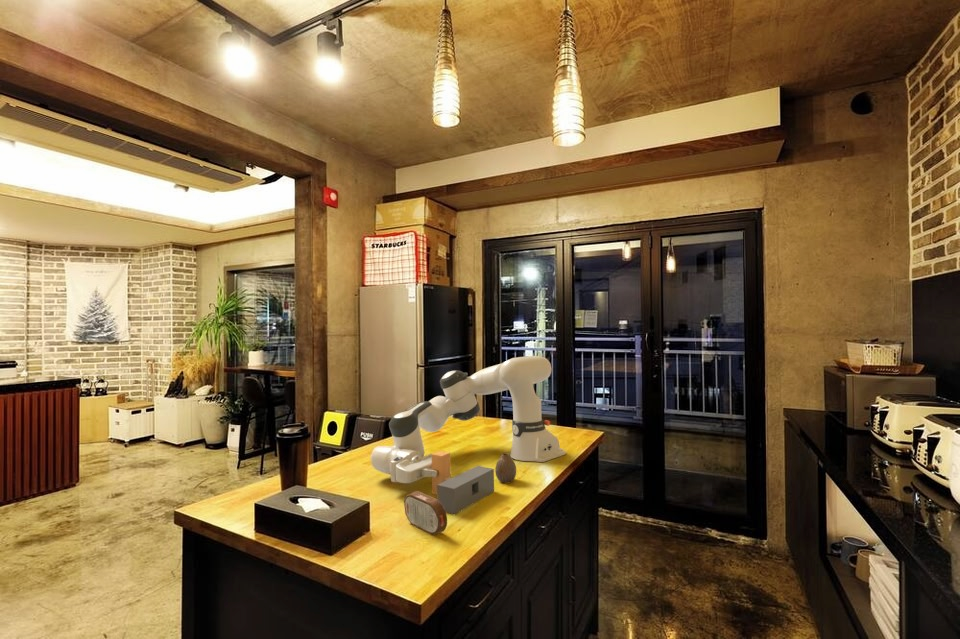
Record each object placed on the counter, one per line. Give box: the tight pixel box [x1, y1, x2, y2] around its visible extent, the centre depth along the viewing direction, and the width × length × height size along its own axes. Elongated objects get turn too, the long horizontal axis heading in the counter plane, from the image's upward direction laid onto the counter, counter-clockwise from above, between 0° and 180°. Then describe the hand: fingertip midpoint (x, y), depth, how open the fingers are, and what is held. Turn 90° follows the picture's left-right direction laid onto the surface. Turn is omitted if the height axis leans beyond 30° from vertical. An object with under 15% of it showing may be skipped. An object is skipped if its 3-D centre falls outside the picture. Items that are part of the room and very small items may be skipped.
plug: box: [431, 450, 453, 495], centre depth 136 cm, size 9×4×12 cm, turn 55°
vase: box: [494, 453, 517, 484], centre depth 148 cm, size 7×7×9 cm
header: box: [436, 465, 495, 515], centre depth 132 cm, size 6×20×7 cm, turn 145°
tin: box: [403, 490, 448, 536], centre depth 114 cm, size 15×3×8 cm, turn 45°
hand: (443, 471), depth 137 cm, fingers closed on plug, 4 cm apart
